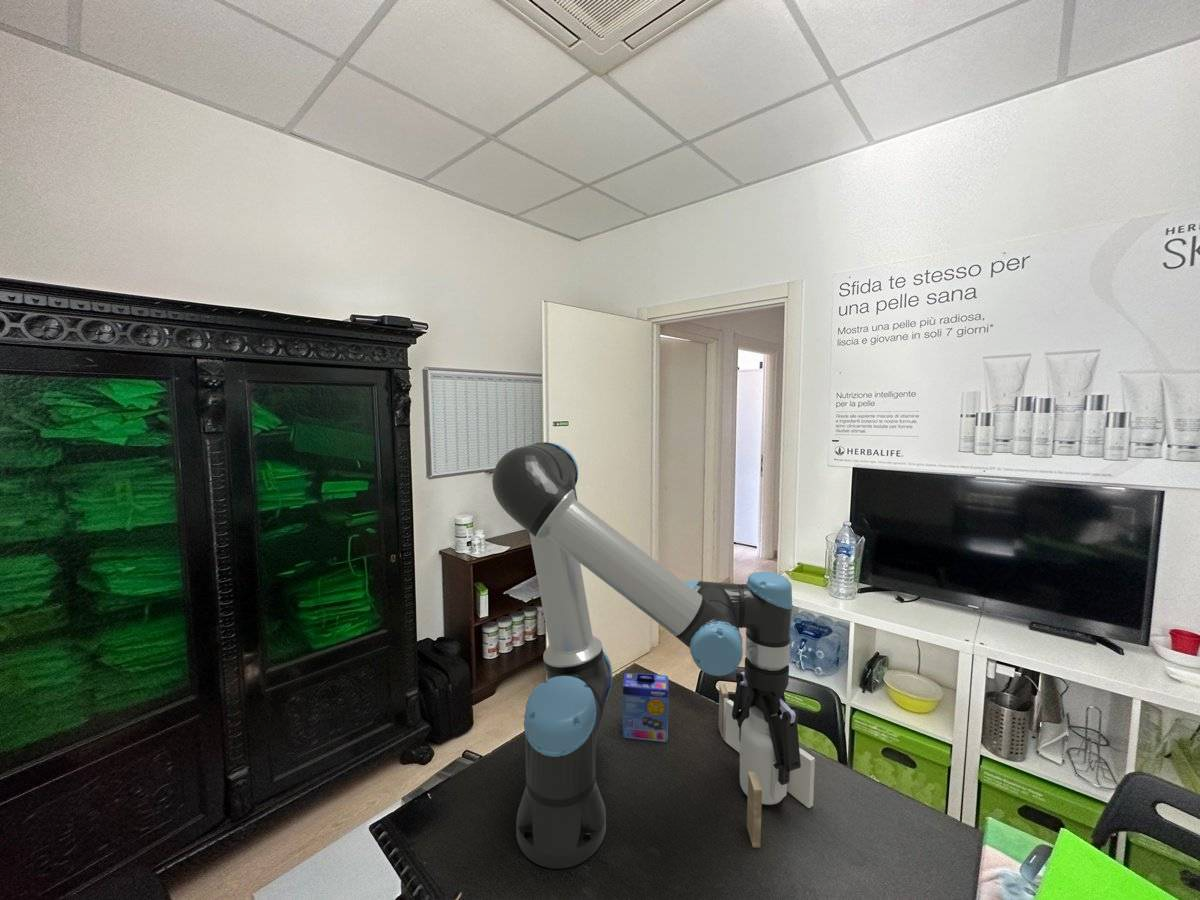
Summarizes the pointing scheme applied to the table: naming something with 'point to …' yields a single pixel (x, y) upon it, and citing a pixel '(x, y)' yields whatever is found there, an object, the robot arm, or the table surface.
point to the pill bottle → (757, 754)
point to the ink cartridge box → (645, 707)
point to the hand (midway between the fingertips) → (761, 778)
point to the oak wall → (753, 785)
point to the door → (799, 778)
